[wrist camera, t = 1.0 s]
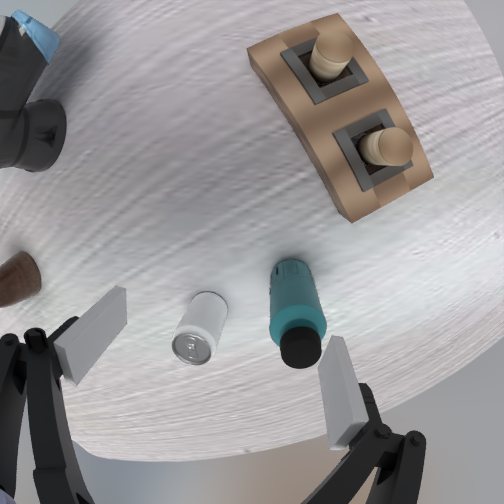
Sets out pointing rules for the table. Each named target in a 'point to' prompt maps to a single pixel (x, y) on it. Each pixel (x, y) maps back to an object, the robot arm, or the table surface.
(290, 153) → the table surface
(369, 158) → the peg
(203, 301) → the can
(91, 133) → the table surface
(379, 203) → the walnut block
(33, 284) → the lamp
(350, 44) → the peg
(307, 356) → the beverage bottle
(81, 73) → the table surface
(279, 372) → the table surface
